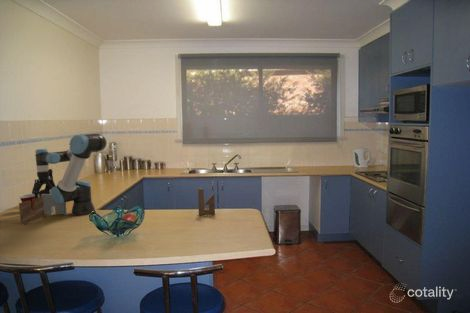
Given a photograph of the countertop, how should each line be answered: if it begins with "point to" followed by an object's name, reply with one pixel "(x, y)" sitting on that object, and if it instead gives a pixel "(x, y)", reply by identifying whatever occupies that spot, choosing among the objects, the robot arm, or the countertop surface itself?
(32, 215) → the walnut board
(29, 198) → the plastic cup
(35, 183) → the robot arm
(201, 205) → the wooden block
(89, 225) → the countertop surface
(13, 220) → the countertop surface
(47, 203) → the notched grey panel
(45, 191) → the dark brown vase
